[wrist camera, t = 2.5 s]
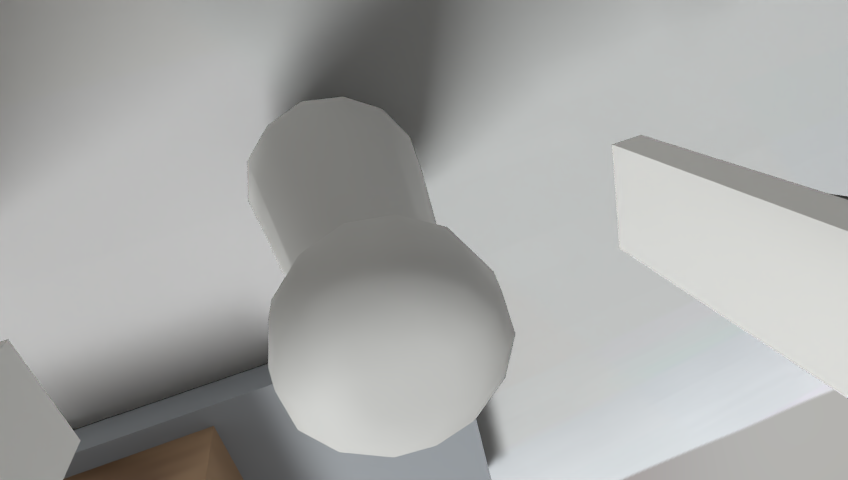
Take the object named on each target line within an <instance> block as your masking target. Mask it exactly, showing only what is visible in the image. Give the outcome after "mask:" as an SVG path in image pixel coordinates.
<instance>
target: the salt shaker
mask: <svg viewBox="0 0 848 480" xmlns="http://www.w3.org/2000/svg"><path fill="white" fill-rule="evenodd" d="M247 176H248V202H249V204H250V206H251V208H252V210H253V212H254V214H255V216H256V218H257V220H258V222H259V224H260V226H261V228H262V230H263V232H264V234H265V236H266V238H267V240H268V243H269V245H270V247H271V249H272V251H273V254H274V256H275V258H276V260H277V262H278V264H279V267H280V269H281V271H282V273H283V275H284V280H283V282H282V283H281V285H280V287H279V288H278V290H277V292H276V293H275V295H274V297H273V298H272V300H271V306H270V312H269V318H268V369H269V372H270V376H271V379H272V383H273V386H274V390H275V392H276V394H277V395H278V397H279V399H280V400H281V402H282V404H283V406H284V407H285V409H286V411H287V412H288V414H289V416H290V417H291V419H292V421H293V423H294V424H295V426H296V428H297V429H298V430H299V431H301V432H303V433H304V434H306V435H308V436H310V437H312V438H314V439H316V440H317V441H319V442H321V443H323V444H325V445H327V446H329V447H330V448H332V449H334V450H336V451H338V452H343V453H353V454H363V455H374V456H384V457H398V456H401V455H405V454H408V453H412V452H415V451H419V450H423V449H426V448H430V447H433V446H437V445H438V444H440V443H441V442H443V441H444V440H446V439H447V438H449V437H450V436H452V435H453V434H455V433H457V432H458V431H460V430H461V429H463V428H464V427H466V426H467V425H469V424H470V423H472V422H473V421H474V420H475V419H476V418H477V416H478V415H479V414H480V412H481V411H482V409H483V408H484V407H485V405H486V404H487V402H488V401H489V400H490V398H491V397H492V395H493V394H494V393H495V391H496V390H497V388H498V387H499V386H500V384H501V383H502V381H503V380H504V379H505V376H506V372H507V368H508V363H509V359H510V355H511V350H512V346H513V342H514V337H515V332H514V328H513V325H512V322H511V319H510V316H509V313H508V309H507V306H506V303H505V300H504V297H503V294H502V291H501V288H500V286H499V284H498V281H497V279H496V276H495V274H494V272H493V271H492V270H491V269H490V268H489V267H488V266H487V265H486V264H485V263H484V262H483V261H482V260H481V259H480V258H479V257H478V256H477V255H476V254H475V253H474V252H473V251H472V250H471V249H470V248H469V247H468V246H466V245H465V244H464V243H463V242H462V241H461V240H460V239H459V238H458V237H457V236H456V235H455V234H454V233H453V232H452V231H451V230H450V229H448V228H447V227H445V226H441V225H437V224H436V221H435V217H434V213H433V210H432V206H431V203H430V199H429V195H428V192H427V188H426V185H425V181H424V177H423V174H422V170H421V167H420V165H419V162H418V159H417V156H416V153H415V150H414V148H413V145H412V142H411V139H410V137H409V136H408V134H407V133H406V132H405V131H404V130H403V129H402V128H401V127H400V126H399V125H398V124H397V123H396V122H395V121H394V120H393V119H392V118H391V117H390V116H389V115H388V114H387V113H386V112H385V111H384V110H383V109H381V108H378V107H375V106H372V105H369V104H366V103H362V102H359V101H356V100H353V99H350V98H346V97H335V98H326V99H318V100H309V101H301V102H300V103H298V104H297V105H296V106H294V107H293V108H291V109H290V110H289V111H287V112H286V113H284V114H283V115H282V116H280V117H279V118H277V119H276V120H275V121H273V122H272V123H270V124H269V125H268V126H267V127H266V129H265V131H264V132H263V134H262V136H261V138H260V139H259V141H258V143H257V145H256V146H255V148H254V150H253V152H252V153H251V155H250V157H249V159H248V160H247Z"/></svg>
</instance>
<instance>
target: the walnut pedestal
mask: <svg viewBox="0 0 848 480" xmlns="http://www.w3.org/2000/svg"><path fill="white" fill-rule="evenodd" d="M63 480H243V478H242V476H241V474H240V472H239V471H238V469H237V467H236V465H235V463H234V462H233V460H232V458H231V456H230V454H229V453H228V451H227V449H226V447H225V445H224V444H223V442H222V440H221V438H220V436H219V434H218V433H217V431H216V429H215V427H214V426H212V427H209V428H206V429H203V430H201V431H198V432H195V433H192V434H189V435H186V436H184V437H181V438H178V439H175V440H172V441H169V442H167V443H164V444H161V445H158V446H155V447H153V448H150V449H147V450H144V451H141V452H138V453H136V454H133V455H130V456H127V457H124V458H121V459H119V460H116V461H113V462H110V463H107V464H104V465H102V466H99V467H96V468H93V469H90V470H88V471H85V472H82V473H79V474H76V475H73V476H71V477H68V478H65V479H63Z"/></svg>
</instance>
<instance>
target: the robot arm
mask: <svg viewBox="0 0 848 480" xmlns="http://www.w3.org/2000/svg"><path fill="white" fill-rule="evenodd" d="M612 152H613V166H614V179H615V193H616V207H617V221H618V235H619V249H621V250H622V251H624V252H625V253H627V254H628V255H630V256H631V257H633V258H634V259H636V260H638V261H639V262H641V263H642V264H644V265H645V266H647V267H648V268H650V269H651V270H653V271H654V272H656V273H657V274H659V275H660V276H662V277H663V278H665V279H666V280H668V281H669V282H671V283H673V284H674V285H676V286H677V287H679V288H680V289H682V290H683V291H685V292H686V293H688V294H689V295H691V296H692V297H694V298H695V299H697V300H698V301H700V302H701V303H703V304H704V305H706V306H707V307H709V308H711V309H712V310H714V311H715V312H717V313H718V314H720V315H721V316H723V317H724V318H726V319H727V320H729V321H730V322H732V323H733V324H735V325H736V326H738V327H739V328H741V329H742V330H744V331H746V332H747V333H749V334H750V335H752V336H753V337H755V338H756V339H758V340H759V341H761V342H762V343H764V344H765V345H767V346H768V347H770V348H771V349H773V350H774V351H776V352H777V353H779V354H780V355H782V356H784V357H785V358H787V359H788V360H790V361H791V362H793V363H794V364H796V365H797V366H799V367H800V368H802V369H803V370H805V371H806V372H808V373H809V374H811V375H812V376H814V377H815V378H817V379H819V380H820V381H822V382H823V383H825V384H826V385H828V386H829V387H831V388H832V389H834V390H835V391H837V392H838V393H840V394H841V395H843V396H844V397H846V398H847V399H848V197H847V196H840V195H833V194H828V193H825V192H821V191H818V190H815V189H812V188H809V187H806V186H802V185H799V184H796V183H793V182H790V181H786V180H783V179H780V178H777V177H774V176H771V175H767V174H764V173H761V172H758V171H755V170H751V169H748V168H745V167H742V166H739V165H736V164H732V163H729V162H726V161H723V160H720V159H716V158H713V157H710V156H707V155H704V154H701V153H697V152H694V151H691V150H688V149H685V148H681V147H678V146H675V145H672V144H669V143H665V142H662V141H659V140H656V139H653V138H650V137H646V136H643V135H640V136H636V137H633V138H630V139H627V140H624V141H621V142H618V143H615V144H612ZM80 441H81V440H80V439H79V438H78V436H77V435H76V433H75V432H74V431H73V429H72V428H71V426H70V425H69V424H68V422H67V421H66V419H65V418H64V417H63V415H62V414H61V412H60V411H59V410H58V408H57V407H56V405H55V404H54V403H53V401H52V400H51V398H50V397H49V396H48V394H47V393H46V391H45V390H44V389H43V387H42V386H41V384H40V383H39V382H38V380H37V379H36V377H35V376H34V375H33V373H32V372H31V371H30V369H29V368H28V366H27V365H26V364H25V362H24V361H23V359H22V358H21V357H20V355H19V354H18V352H17V351H16V350H15V348H14V347H13V345H12V344H11V343H10V341H9V340H8V339H7V340H4V341H1V342H0V480H63V479H64V477H65V474H66V472H67V470H68V468H69V465H70V463H71V461H72V459H73V456H74V454H75V452H76V450H77V447H78V445H79V443H80Z"/></svg>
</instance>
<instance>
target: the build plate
mask: <svg viewBox="0 0 848 480" xmlns="http://www.w3.org/2000/svg"><path fill="white" fill-rule="evenodd" d="M212 426H214V427H215V429H216V431H217V433H218V434H219V436H220V438H221V440H222V442H223V444H224V445H225V447H226V449H227V451H228V453H229V454H230V456H231V458H232V460H233V462H234V463H235V465H236V467H237V469H238V471H239V472H240V474H241V476H242V478H243V480H491V477H490V473H489V469H488V465H487V461H486V457H485V452H484V448H483V444H482V440H481V436H480V432H479V428H478V424H477V420H476V419H475V420H474V421H473V422H472V423H470V424H469V425H467V426H466V427H464V428H463V429H461V430H460V431H458V432H457V433H455V434H453V435H452V436H450V437H449V438H447V439H446V440H444V441H443V442H441V443H440V444H438V445H437V446H433V447H430V448H426V449H423V450H419V451H415V452H412V453H408V454H405V455H401V456H398V457H384V456H374V455H363V454H353V453H343V452H338V451H336V450H334V449H332V448H330V447H329V446H327V445H325V444H323V443H321V442H319V441H317V440H316V439H314V438H312V437H310V436H308V435H306V434H304V433H303V432H301V431H299V430H298V429H297V428H296V426H295V424H294V423H293V421H292V419H291V417H290V416H289V414H288V412H287V411H286V409H285V407H284V406H283V404H282V402H281V400H280V399H279V397H278V395H277V394H276V392H275V390H274V386H273V383H272V379H271V376H270V372H269V369H268V364H266V365H263V366H260V367H257V368H254V369H251V370H248V371H245V372H242V373H239V374H236V375H234V376H231V377H228V378H225V379H222V380H219V381H216V382H213V383H210V384H207V385H204V386H201V387H199V388H196V389H193V390H190V391H187V392H184V393H181V394H178V395H175V396H172V397H169V398H166V399H164V400H161V401H158V402H155V403H152V404H149V405H146V406H143V407H140V408H137V409H134V410H131V411H129V412H126V413H123V414H120V415H117V416H114V417H111V418H108V419H105V420H102V421H99V422H96V423H94V424H91V425H88V426H85V427H82V428H79V429H76V430H73V431H74V432H75V433H76V435H77V436H78V438H79V439H80V440H81V441H80V443H79V445H78V447H77V450H76V452H75V454H74V456H73V459H72V461H71V463H70V465H69V468H68V470H67V472H66V474H65V477H64V479H65V478H68V477H71V476H73V475H76V474H79V473H82V472H85V471H88V470H90V469H93V468H96V467H99V466H102V465H104V464H107V463H110V462H113V461H116V460H119V459H121V458H124V457H127V456H130V455H133V454H136V453H138V452H141V451H144V450H147V449H150V448H153V447H155V446H158V445H161V444H164V443H167V442H169V441H172V440H175V439H178V438H181V437H184V436H186V435H189V434H192V433H195V432H198V431H201V430H203V429H206V428H209V427H212Z"/></svg>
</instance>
